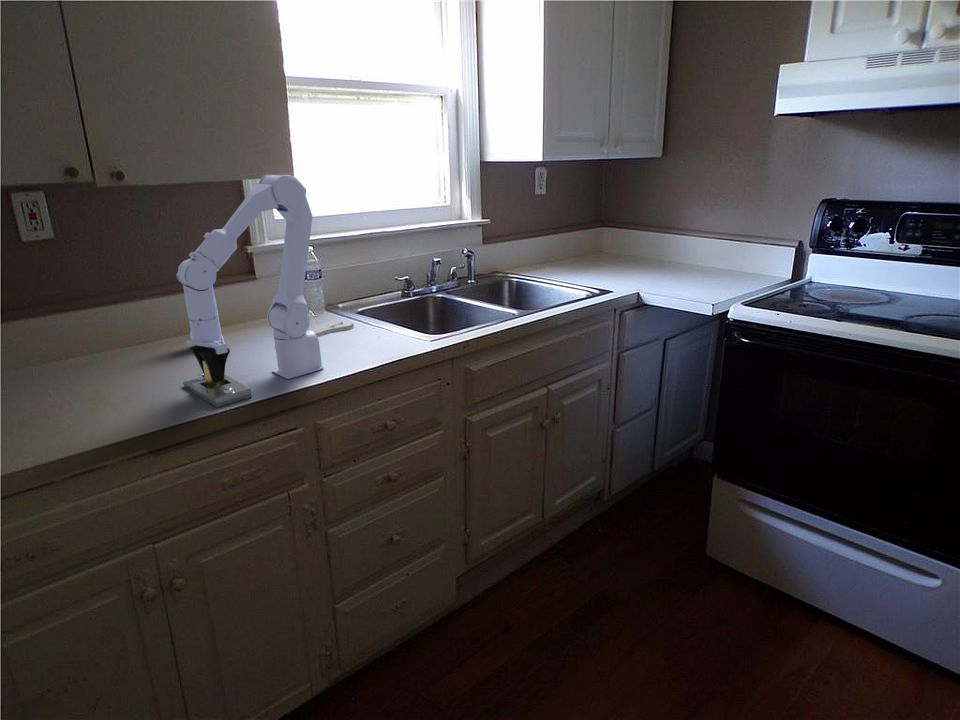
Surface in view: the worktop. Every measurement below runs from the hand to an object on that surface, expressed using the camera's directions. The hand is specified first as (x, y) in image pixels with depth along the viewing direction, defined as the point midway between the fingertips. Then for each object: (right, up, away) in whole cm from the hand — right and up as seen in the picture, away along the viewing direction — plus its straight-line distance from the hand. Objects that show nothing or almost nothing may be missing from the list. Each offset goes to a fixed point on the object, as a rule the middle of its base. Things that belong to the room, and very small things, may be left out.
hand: (214, 378), depth 134 cm
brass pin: (0, -2, +1) cm, 3 cm away
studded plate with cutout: (0, -3, +1) cm, 3 cm away
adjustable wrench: (+11, +10, +41) cm, 43 cm away
